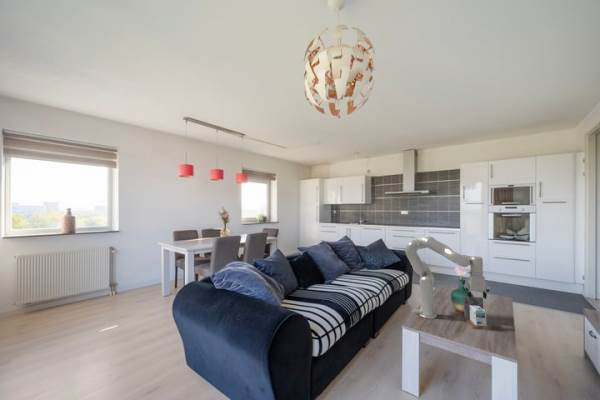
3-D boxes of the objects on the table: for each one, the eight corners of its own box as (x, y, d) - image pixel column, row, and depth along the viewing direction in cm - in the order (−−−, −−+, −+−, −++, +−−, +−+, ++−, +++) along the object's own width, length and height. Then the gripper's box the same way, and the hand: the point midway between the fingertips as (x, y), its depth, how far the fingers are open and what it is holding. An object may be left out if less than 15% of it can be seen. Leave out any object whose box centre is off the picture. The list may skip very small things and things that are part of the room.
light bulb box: (487, 326, 175) (486, 311, 176) (476, 325, 177) (475, 310, 177) (479, 320, 186) (479, 305, 186) (469, 319, 187) (468, 304, 188)
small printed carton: (472, 328, 177) (471, 302, 178) (464, 320, 191) (463, 296, 192) (492, 330, 174) (491, 303, 175) (482, 321, 188) (481, 297, 189)
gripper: (465, 274, 181) (465, 298, 181) (492, 276, 178) (493, 300, 177) (461, 271, 189) (461, 295, 188) (487, 273, 185) (487, 297, 184)
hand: (477, 297), depth 182 cm, fingers open, 9 cm apart
